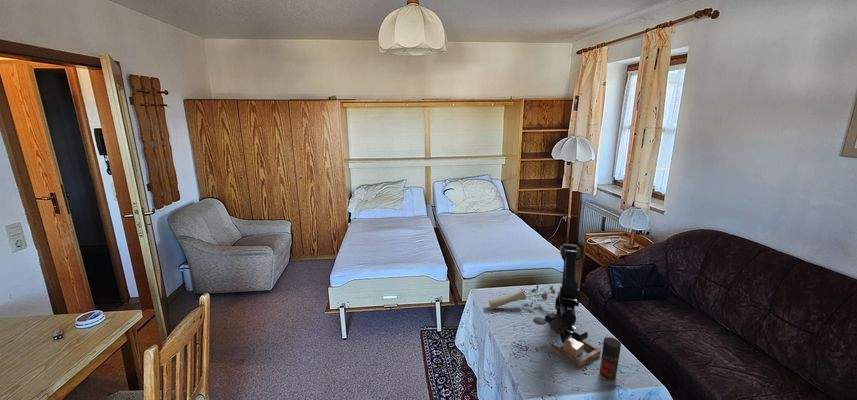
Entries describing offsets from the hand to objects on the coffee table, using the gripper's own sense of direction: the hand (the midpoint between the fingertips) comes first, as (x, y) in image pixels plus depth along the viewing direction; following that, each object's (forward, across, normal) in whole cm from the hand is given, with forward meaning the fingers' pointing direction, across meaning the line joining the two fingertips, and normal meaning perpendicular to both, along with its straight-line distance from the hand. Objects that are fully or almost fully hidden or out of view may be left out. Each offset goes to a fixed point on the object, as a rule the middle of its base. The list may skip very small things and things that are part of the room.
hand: (563, 342), depth 160 cm
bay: (+1, +6, 0) cm, 6 cm away
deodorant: (+1, +21, 0) cm, 21 cm away
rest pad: (+1, -19, +6) cm, 19 cm away
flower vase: (+1, -33, +7) cm, 34 cm away
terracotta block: (+1, +5, 0) cm, 5 cm away
